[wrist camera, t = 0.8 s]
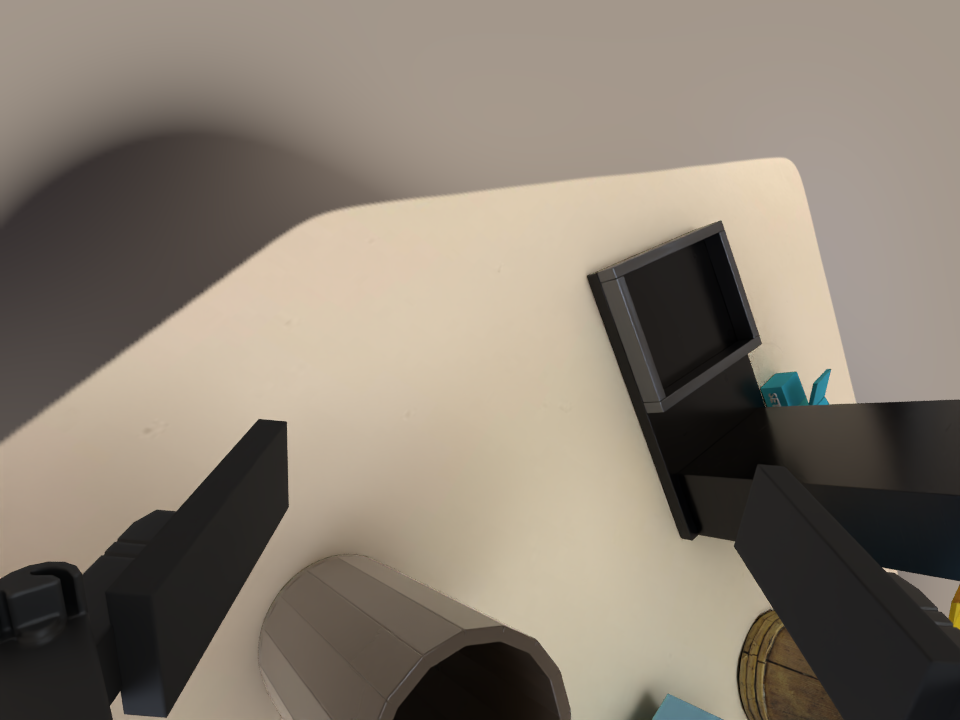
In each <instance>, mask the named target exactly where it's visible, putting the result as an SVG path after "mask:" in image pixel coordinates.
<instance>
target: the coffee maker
mask: <svg viewBox="0 0 960 720" xmlns="http://www.w3.org/2000/svg"><path fill="white" fill-rule="evenodd" d="M587 278H588V280H589V283H590V286H591V289H592V291H593V294H594V297H595V300H596V303H597V305H598V308H599V311H600V314H601V316H602V319H603V322H604V325H605V328H606V330H607V333H608V336H609V339H610V341H611V344H612V347H613V350H614V353H615V355H616V358H617V361H618V364H619V366H620V369H621V372H622V375H623V378H624V380H625V383H626V386H627V389H628V391H629V394H630V397H631V400H632V403H633V405H634V408H635V411H636V414H637V416H638V419H639V422H640V425H641V428H642V430H643V433H644V436H645V439H646V441H647V444H648V447H649V450H650V453H651V455H652V458H653V461H654V464H655V466H656V469H657V472H658V475H659V478H660V480H661V483H662V486H663V489H664V491H665V494H666V497H667V500H668V503H669V505H670V508H671V511H672V514H673V516H674V519H675V522H676V525H677V528H678V530H679V533H680V536H681V538H682V539H687V540H693V539H694V538H695V537H697V536H698V535H702V536H708V537H714V538H719V539H725V540H731V541H736V537H737V534H738V530H739V527H740V523H741V520H742V516H743V513H744V510H745V506H746V503H747V499H748V496H749V492H750V489H751V485H752V482H753V478H754V475H755V471H756V468H757V465H758V464H761V465H772V466H783V467H786V468H787V470H788V471H789V472H790V473H791V474H792V475H793V476H794V477H795V478H796V479H797V480H798V481H799V482H800V483H801V484H802V485H803V486H804V487H805V488H806V489H807V490H808V491H809V492H810V493H811V494H812V495H813V496H814V498H815V499H816V500H817V501H818V502H819V503H820V504H821V505H822V506H823V507H824V508H825V509H826V510H827V511H828V512H829V513H830V514H831V515H832V516H833V517H834V518H835V519H836V520H837V521H838V522H839V523H840V525H841V526H842V527H843V528H844V529H845V530H846V531H847V532H848V533H849V534H850V535H851V536H852V537H853V538H854V539H855V540H856V541H857V542H858V543H859V544H860V545H861V546H862V547H863V548H864V549H865V550H866V551H867V553H868V554H869V555H870V556H871V557H872V558H873V559H874V560H875V561H876V562H877V563H878V564H879V565H880V566H881V567H883V568H889V569H894V570H900V571H906V572H911V573H917V574H923V575H928V576H934V577H939V578H945V579H951V580H956V581H960V400H938V401H911V402H888V403H887V402H886V403H861V404H859V403H858V404H832V405H806V406H779V407H765V405H764V402H763V399H762V396H761V393H760V390H759V387H758V384H757V381H756V378H755V375H754V372H753V369H752V366H751V363H750V360H749V357H748V353H750V352H751V351H752V350H754V349H755V348H757V347H758V346H760V345H761V344H762V342H761V339H760V336H759V333H758V330H757V327H756V324H755V321H754V318H753V315H752V312H751V309H750V306H749V303H748V300H747V297H746V294H745V290H744V287H743V284H742V281H741V278H740V275H739V272H738V269H737V266H736V263H735V260H734V257H733V254H732V251H731V248H730V245H729V242H728V239H727V236H726V232H725V230H724V227H723V224H722V221H718V222H715V223H712V224H709V225H707V226H704V227H701V228H698V229H695V230H693V231H691V232H688V233H686V234H683V235H681V236H679V237H676V238H674V239H672V240H669V241H667V242H665V243H662V244H660V245H658V246H655V247H653V248H651V249H648V250H646V251H644V252H641V253H639V254H637V255H634V256H632V257H630V258H627V259H625V260H623V261H620V262H618V263H616V264H613V265H611V266H609V267H606V268H604V269H602V270H599V271H597V272H595V273H592V274H590V275H588V276H587Z"/></svg>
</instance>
